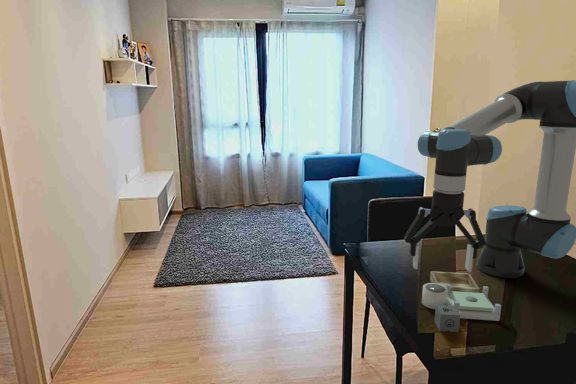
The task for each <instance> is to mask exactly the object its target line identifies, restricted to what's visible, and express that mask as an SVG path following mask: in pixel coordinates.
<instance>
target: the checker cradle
mask: <svg viewBox="0 0 576 384" xmlns="http://www.w3.org/2000/svg"><path fill="white" fill-rule="evenodd" d="M446 288H447V289H448V294H447V305H449V306H455V307H456V309H457V310H458V312H459V314H460V319H467V320H468V319H469V320H482V321H495V322H496V321H497V322H499V321H501V319H500V318H501V310H502V305H501V304H500V303H494V305H493V304H492V302H491V301H490V299H489V297H488V295H489V287H488V286H487V285H486V286H485V285H483V286H482V292H481V293H483V294H484V295H485V297H486V298H487V300H488V301H489V303H490V304H491V306H492V307H493V311H479V310H464V309H459V307H460V303H459V301H455V300H454V298H453V297H452V295H451V293H450V289H451V285H450V284H446Z"/></svg>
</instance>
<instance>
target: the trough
mask: <svg viewBox="0 0 576 384" xmlns="http://www.w3.org/2000/svg"><path fill="white" fill-rule="evenodd" d="M429 274H430V275H429V281H430V283H436V284H440V285H443V286H445V287H446V284H450V285H451V289H450V293H452V291H457V292H473V293H480V291H481V289H480V287H479V286H478V285H477V283H476V281H475V279H474V278H473V277H472V275H471V273H470V272H469V273H467V272H450V271H435V270H432V271H431V270H430V273H429Z"/></svg>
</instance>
